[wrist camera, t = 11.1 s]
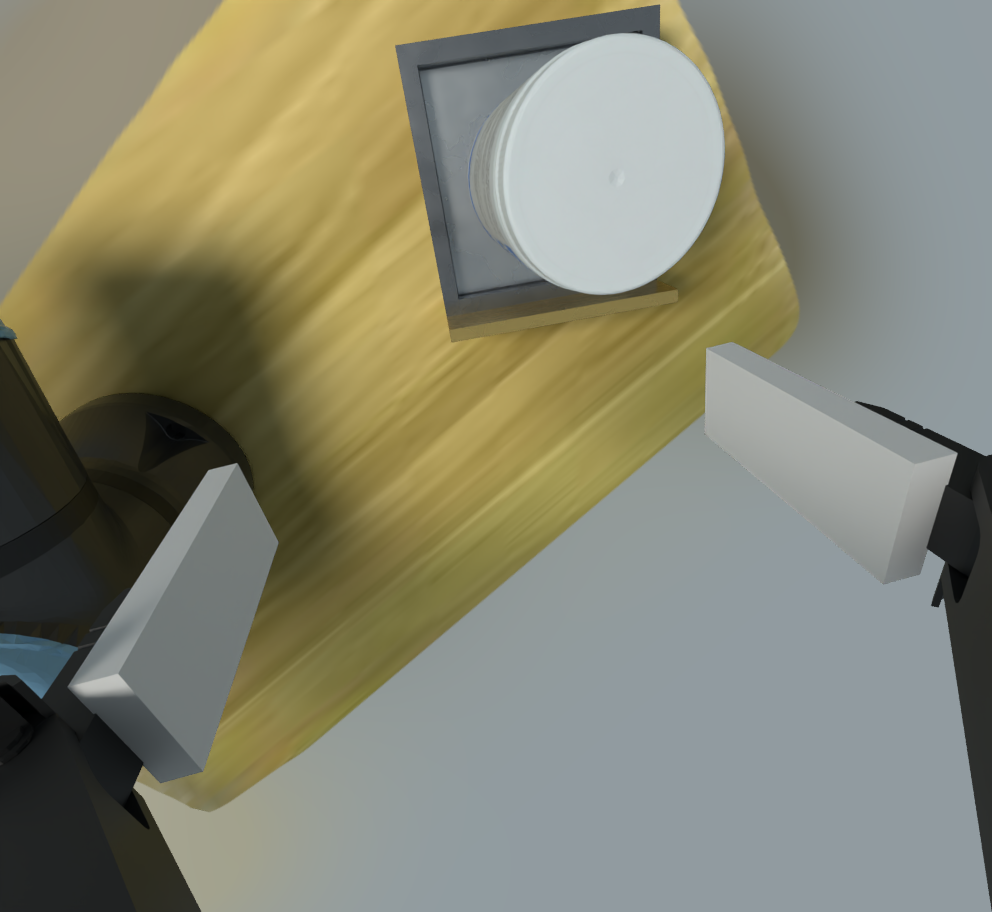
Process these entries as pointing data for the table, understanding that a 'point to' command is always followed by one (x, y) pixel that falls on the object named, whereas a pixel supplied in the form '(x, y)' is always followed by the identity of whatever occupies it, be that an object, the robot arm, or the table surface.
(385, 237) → the table surface
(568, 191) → the supplement tub
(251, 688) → the table surface
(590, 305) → the gray square tray
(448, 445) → the table surface
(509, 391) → the table surface
